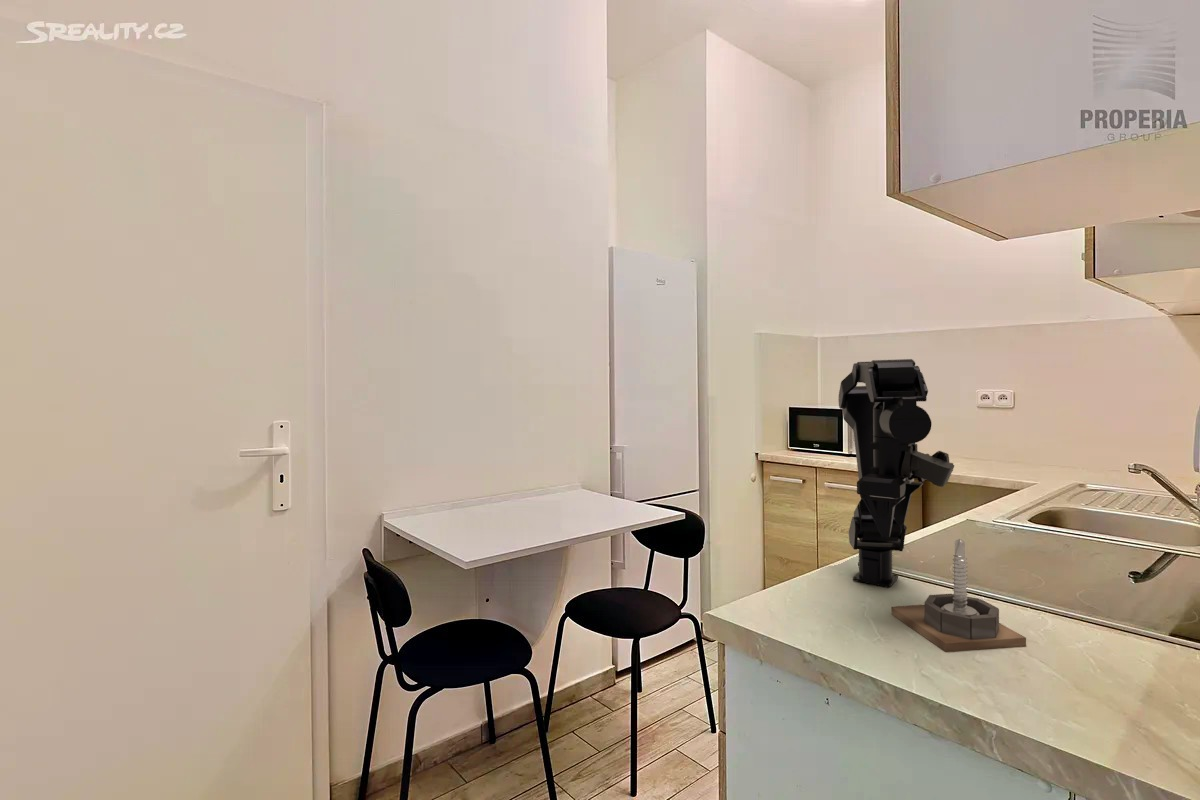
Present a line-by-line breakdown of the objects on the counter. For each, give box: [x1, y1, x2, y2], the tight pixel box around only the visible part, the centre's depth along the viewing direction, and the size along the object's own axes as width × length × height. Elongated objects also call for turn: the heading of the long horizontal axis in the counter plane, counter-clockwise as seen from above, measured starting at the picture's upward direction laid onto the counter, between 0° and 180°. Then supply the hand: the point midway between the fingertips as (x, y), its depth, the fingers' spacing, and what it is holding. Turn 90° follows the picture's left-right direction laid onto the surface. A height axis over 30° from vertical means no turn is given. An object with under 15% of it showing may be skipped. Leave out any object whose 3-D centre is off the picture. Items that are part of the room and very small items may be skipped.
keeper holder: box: [890, 593, 1027, 653], centre depth 88 cm, size 13×12×4 cm
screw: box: [941, 538, 979, 616], centre depth 86 cm, size 13×5×5 cm
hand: (893, 530), depth 96 cm, fingers open, 9 cm apart
